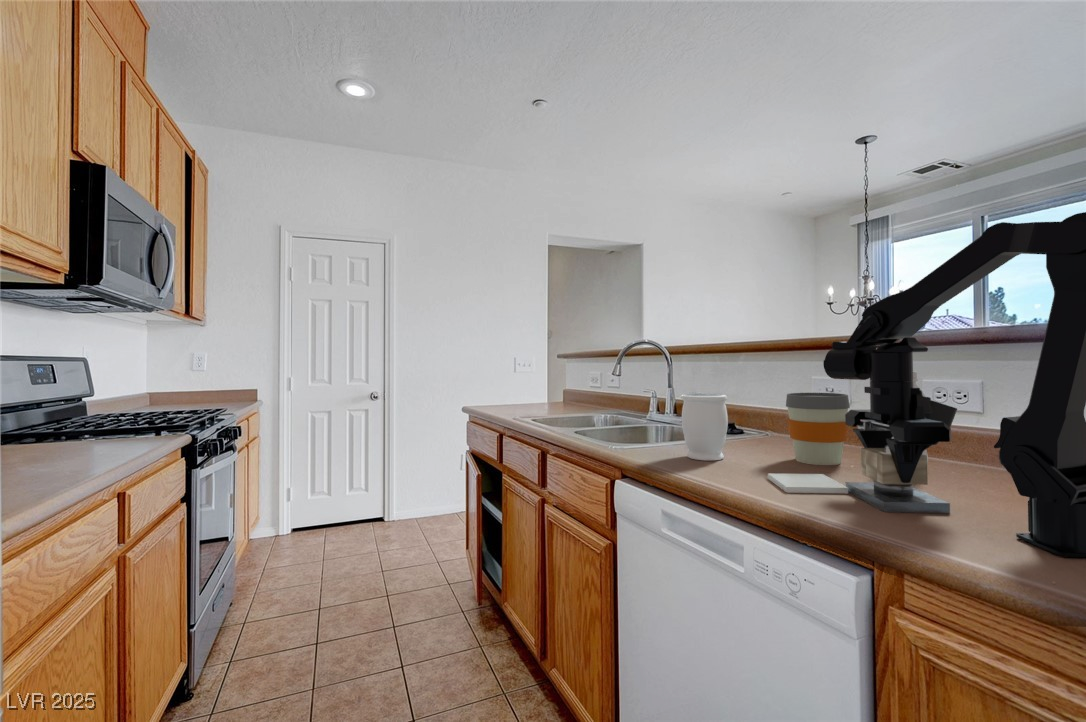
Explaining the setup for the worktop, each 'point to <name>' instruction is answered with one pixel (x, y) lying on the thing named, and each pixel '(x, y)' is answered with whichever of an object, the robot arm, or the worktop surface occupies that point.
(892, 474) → the collar
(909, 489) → the post stand
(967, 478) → the worktop surface
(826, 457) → the reusable coffee cup
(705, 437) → the jar
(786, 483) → the tile pad
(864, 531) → the worktop surface
